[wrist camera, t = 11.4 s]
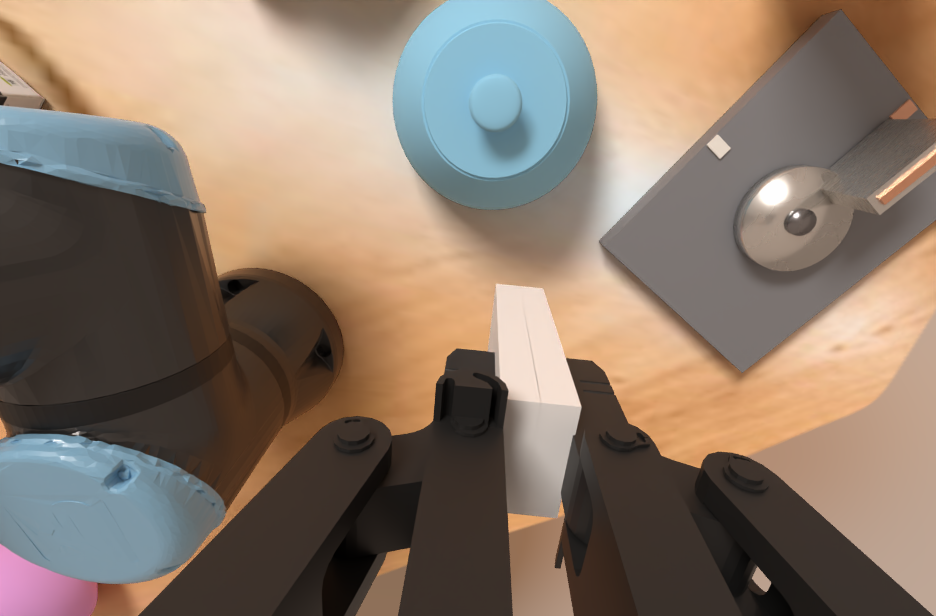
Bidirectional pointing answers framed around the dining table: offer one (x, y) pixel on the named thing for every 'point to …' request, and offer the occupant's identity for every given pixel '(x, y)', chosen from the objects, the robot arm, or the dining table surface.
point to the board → (744, 163)
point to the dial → (832, 195)
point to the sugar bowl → (494, 100)
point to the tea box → (17, 91)
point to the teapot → (41, 590)
